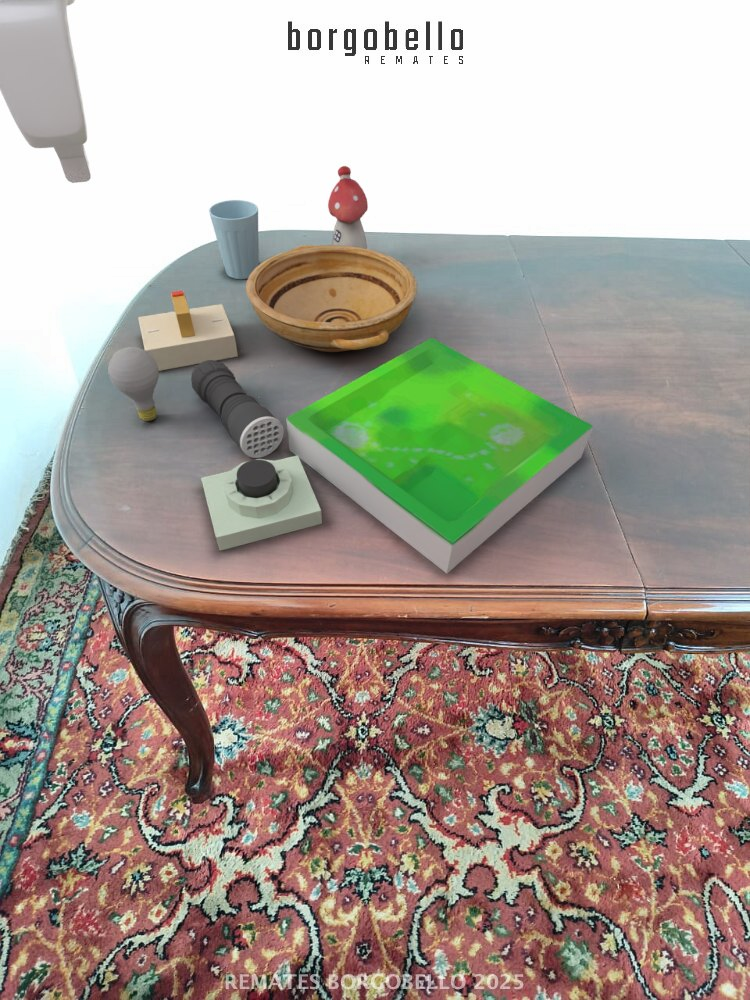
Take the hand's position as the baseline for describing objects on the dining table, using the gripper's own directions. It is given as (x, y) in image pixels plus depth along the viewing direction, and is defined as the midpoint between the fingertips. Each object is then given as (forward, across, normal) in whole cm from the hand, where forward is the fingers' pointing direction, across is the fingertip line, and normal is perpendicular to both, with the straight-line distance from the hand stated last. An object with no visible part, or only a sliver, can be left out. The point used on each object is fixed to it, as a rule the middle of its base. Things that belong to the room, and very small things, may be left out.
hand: (79, 175), depth 46 cm
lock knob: (+28, -23, +6) cm, 37 cm away
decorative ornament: (+31, -41, +36) cm, 63 cm away
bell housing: (+31, +10, +8) cm, 34 cm away
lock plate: (+31, -24, +6) cm, 39 cm away
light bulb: (+31, -9, -1) cm, 33 cm away
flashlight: (+31, -4, +9) cm, 33 cm away
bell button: (+27, +11, +8) cm, 31 cm away
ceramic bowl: (+31, -21, +27) cm, 46 cm away
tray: (+31, +9, +30) cm, 44 cm away
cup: (+31, -44, +18) cm, 57 cm away
